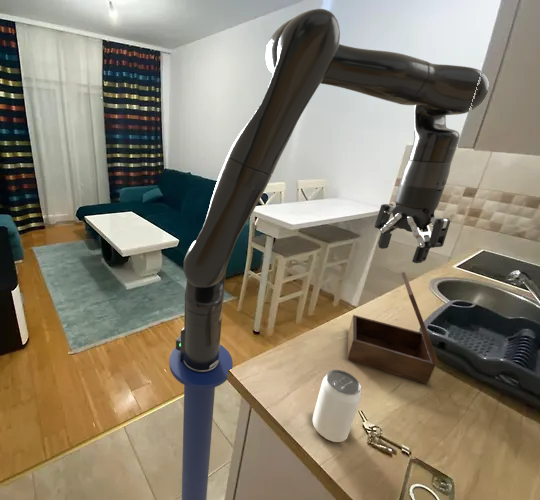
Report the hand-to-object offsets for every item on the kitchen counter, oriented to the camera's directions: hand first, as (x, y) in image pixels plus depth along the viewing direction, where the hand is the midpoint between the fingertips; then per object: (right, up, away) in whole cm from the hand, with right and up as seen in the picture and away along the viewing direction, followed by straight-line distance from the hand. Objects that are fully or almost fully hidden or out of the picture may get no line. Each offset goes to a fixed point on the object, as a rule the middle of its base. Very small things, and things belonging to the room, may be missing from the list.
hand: (399, 254), depth 66 cm
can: (-21, -34, -10) cm, 41 cm away
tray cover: (+6, -15, +3) cm, 16 cm away
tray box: (+3, -27, +9) cm, 28 cm away
